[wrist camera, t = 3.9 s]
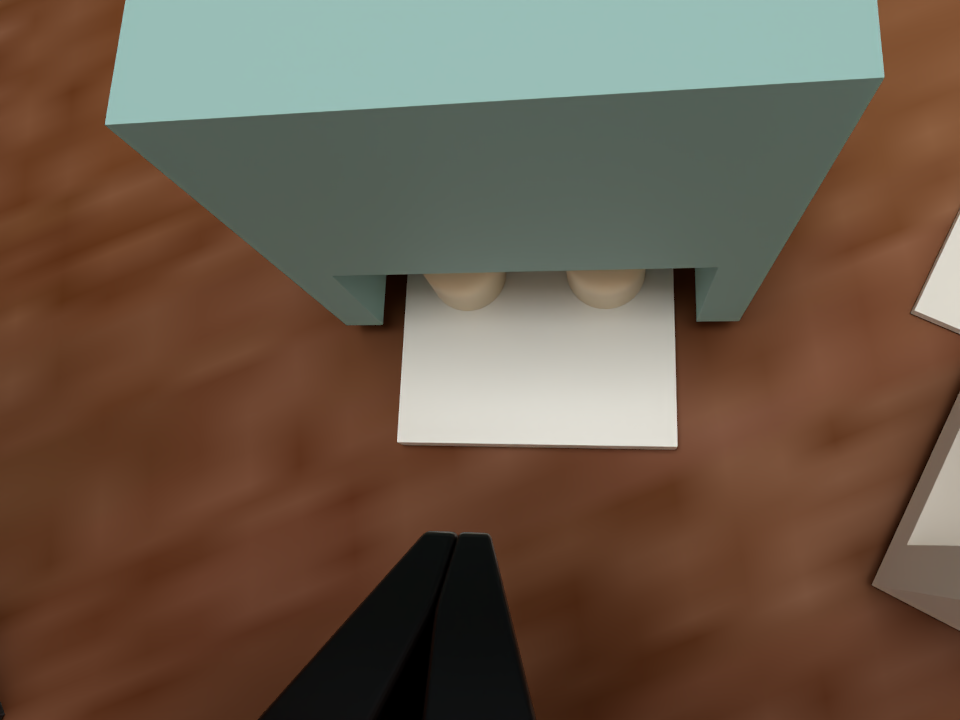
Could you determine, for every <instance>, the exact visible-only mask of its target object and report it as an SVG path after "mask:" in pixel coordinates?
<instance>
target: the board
mask: <svg viewBox="0 0 960 720" xmlns="http://www.w3.org/2000/svg"><path fill="white" fill-rule="evenodd" d="M397 442H398V443H400V444H402V445H429V446H487V447H546V448H604V449H663V450H676V448H677V447H678V446H677V404H676V363H675V321H674V279H673V268H666V269H621V270H576V271H531V272H486V273H441V274H408V275H407V291H406V308H405V324H404V340H403V356H402V372H401V388H400V404H399V421H398V437H397Z"/></svg>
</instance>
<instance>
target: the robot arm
mask: <svg viewBox="0 0 960 720" xmlns="http://www.w3.org/2000/svg"><path fill="white" fill-rule="evenodd" d="M258 720H536V717H535V712H534V708H533V704H532V700H531V696H530V692H529V688H528V684H527V680H526V676H525V672H524V668H523V664H522V660H521V656H520V651H519V647H518V643H517V639H516V635H515V631H514V627H513V623H512V619H511V615H510V611H509V607H508V603H507V599H506V595H505V590H504V586H503V582H502V578H501V574H500V570H499V566H498V562H497V558H496V554H495V550H494V546H493V542H492V538H491V536H490V535H489V534H488V533H471V532H463V533H461V534H459V535H457V534H456V533H454V532H443V531H428V532H426V533H424V534H423V535H422V536H421V537H420V538H419V539H418V540H417V542H416V543H415V544H414V545H413V546H412V547H411V548H410V549H409V551H408V552H407V553H406V554H405V555H404V556H403V557H402V558H401V560H400V561H399V562H398V563H397V564H396V565H395V566H394V567H393V569H392V570H391V571H390V572H389V573H388V574H387V575H386V576H385V577H384V579H383V580H382V581H381V582H380V583H379V584H378V585H377V586H376V588H375V589H374V590H373V591H372V592H371V593H370V594H369V595H368V597H367V598H366V599H365V600H364V601H363V602H362V603H361V604H360V605H359V607H358V608H357V609H356V610H355V611H354V612H353V613H352V614H351V616H350V617H349V618H348V619H347V620H346V621H345V622H344V623H343V625H342V626H341V627H340V628H339V629H338V630H337V631H336V632H335V633H334V635H333V636H332V637H331V638H330V639H329V640H328V641H327V642H326V644H325V645H324V646H323V647H322V648H321V649H320V650H319V651H318V653H317V654H316V655H315V656H314V657H313V658H312V659H311V660H310V661H309V663H308V664H307V665H306V666H305V667H304V668H303V669H302V670H301V672H300V673H299V674H298V675H297V676H296V677H295V678H294V679H293V681H292V682H291V683H290V684H289V685H288V686H287V687H286V688H285V689H284V691H283V692H282V693H281V694H280V695H279V696H278V697H277V698H276V700H275V701H274V702H273V703H272V704H271V705H270V706H269V707H268V709H267V710H266V711H265V712H264V713H263V714H262V715H261V716H260V718H259V719H258Z"/></svg>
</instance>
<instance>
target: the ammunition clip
mask: <svg viewBox="0 0 960 720" xmlns="http://www.w3.org/2000/svg"><path fill="white" fill-rule="evenodd" d="M4 715H5V714H4V711H3V708H2V705H1V702H0V720H1V719H2V717H3V716H4Z"/></svg>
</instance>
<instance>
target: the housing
mask: <svg viewBox="0 0 960 720" xmlns="http://www.w3.org/2000/svg"><path fill="white" fill-rule="evenodd" d="M883 79H884V68H883V57H882V47H881V37H880V27H879V17H878V7H877V0H126V1H125V7H124V13H123V19H122V25H121V31H120V37H119V43H118V49H117V55H116V61H115V67H114V73H113V79H112V85H111V91H110V97H109V103H108V109H107V115H106V120H105V125H106V126H107V127H108V128H109V129H110V130H112V131H113V132H114V133H115V134H116V135H118V136H119V137H120V138H121V139H122V140H124V141H125V142H126V143H127V144H128V145H130V146H131V147H132V148H133V149H135V150H136V151H137V152H138V153H139V154H141V155H142V156H143V157H144V158H145V159H147V160H148V161H149V162H150V163H151V164H153V165H154V166H155V167H156V168H157V169H159V170H160V171H161V172H162V173H163V174H165V175H166V176H167V177H168V178H170V179H171V180H172V181H173V182H174V183H176V184H177V185H178V186H179V187H180V188H182V189H183V190H184V191H185V192H186V193H188V194H189V195H190V196H191V197H192V198H194V199H195V200H196V201H197V202H198V203H200V204H201V205H202V206H203V207H205V208H206V209H207V210H208V211H209V212H211V213H212V214H213V215H214V216H215V217H217V218H218V219H219V220H220V221H221V222H223V223H224V224H225V225H226V226H227V227H229V228H230V229H231V230H232V231H233V232H235V233H236V234H237V235H238V236H240V237H241V238H242V239H243V240H244V241H246V242H247V243H248V244H249V245H250V246H252V247H253V248H254V249H255V250H256V251H258V252H259V253H260V254H261V255H262V256H264V257H265V258H266V259H267V260H269V261H270V262H271V263H272V264H273V265H275V266H276V267H277V268H278V269H279V270H281V271H282V272H283V273H284V274H285V275H287V276H288V277H289V278H290V279H291V280H293V281H294V282H295V283H296V284H297V285H299V286H300V287H301V288H302V289H304V290H305V291H306V292H307V293H308V294H310V295H311V296H312V297H313V298H314V299H316V300H317V301H318V302H319V303H320V304H322V305H323V306H324V307H325V308H326V309H328V310H329V311H330V312H331V313H332V314H334V315H335V316H336V317H337V318H339V319H340V320H341V321H342V322H343V323H345V324H346V325H383V317H384V302H385V287H386V275H396V274H441V273H486V272H531V271H576V270H621V269H666V268H695V287H696V319H697V322H698V321H739V320H740V319H741V317H742V315H743V314H744V312H745V310H746V309H747V307H748V305H749V303H750V302H751V300H752V298H753V297H754V295H755V293H756V292H757V290H758V288H759V287H760V285H761V283H762V282H763V280H764V278H765V277H766V275H767V273H768V272H769V270H770V268H771V267H772V265H773V263H774V262H775V260H776V258H777V257H778V255H779V253H780V252H781V250H782V248H783V247H784V245H785V243H786V242H787V240H788V238H789V236H790V235H791V233H792V231H793V230H794V228H795V226H796V225H797V223H798V221H799V220H800V218H801V216H802V215H803V213H804V211H805V210H806V208H807V206H808V205H809V203H810V201H811V200H812V198H813V196H814V195H815V193H816V191H817V190H818V188H819V186H820V185H821V183H822V181H823V180H824V178H825V176H826V174H827V173H828V171H829V169H830V168H831V166H832V164H833V163H834V161H835V159H836V158H837V156H838V154H839V153H840V151H841V149H842V148H843V146H844V144H845V143H846V141H847V139H848V138H849V136H850V134H851V133H852V131H853V129H854V128H855V126H856V124H857V123H858V121H859V119H860V118H861V116H862V114H863V112H864V111H865V109H866V107H867V106H868V104H869V102H870V101H871V99H872V97H873V96H874V94H875V92H876V91H877V89H878V87H879V86H880V84H881V82H882V81H883Z"/></svg>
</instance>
